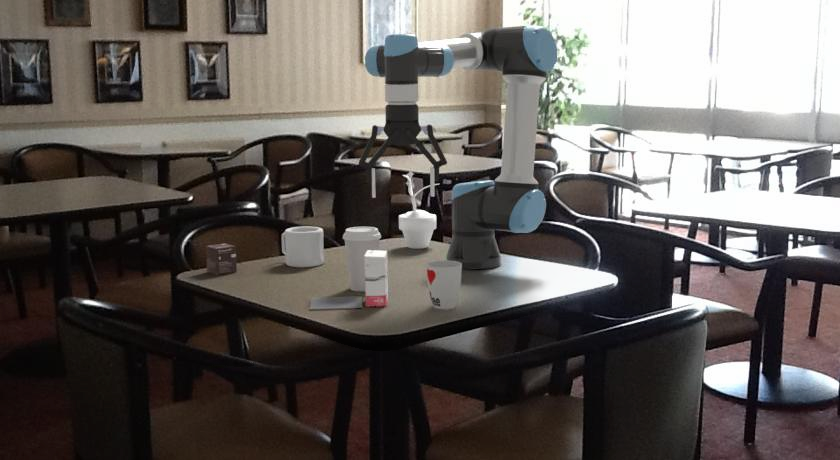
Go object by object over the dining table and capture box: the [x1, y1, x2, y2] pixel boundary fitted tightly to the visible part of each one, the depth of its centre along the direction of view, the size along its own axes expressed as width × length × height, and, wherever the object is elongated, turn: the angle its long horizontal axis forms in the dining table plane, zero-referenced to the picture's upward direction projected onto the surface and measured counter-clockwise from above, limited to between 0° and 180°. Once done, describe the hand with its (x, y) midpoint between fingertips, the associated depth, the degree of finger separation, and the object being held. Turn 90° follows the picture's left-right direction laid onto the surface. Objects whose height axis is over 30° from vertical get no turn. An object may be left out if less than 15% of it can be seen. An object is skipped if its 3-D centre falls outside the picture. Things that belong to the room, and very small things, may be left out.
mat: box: [309, 295, 363, 311], centre depth 225 cm, size 12×11×1 cm
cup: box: [426, 260, 463, 310], centre depth 220 cm, size 8×8×10 cm
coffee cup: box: [342, 226, 382, 292], centre depth 239 cm, size 10×10×15 cm
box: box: [205, 243, 238, 276], centre depth 262 cm, size 6×6×7 cm
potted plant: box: [398, 167, 440, 250], centre depth 293 cm, size 13×12×25 cm
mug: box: [281, 225, 325, 268], centre depth 272 cm, size 14×11×10 cm
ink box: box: [364, 249, 389, 308], centre depth 225 cm, size 9×5×12 cm, turn 178°
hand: (403, 196), depth 222 cm, fingers open, 13 cm apart
